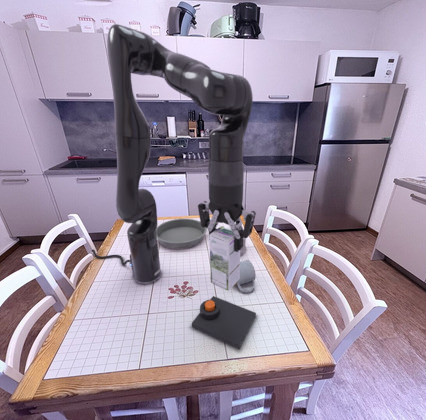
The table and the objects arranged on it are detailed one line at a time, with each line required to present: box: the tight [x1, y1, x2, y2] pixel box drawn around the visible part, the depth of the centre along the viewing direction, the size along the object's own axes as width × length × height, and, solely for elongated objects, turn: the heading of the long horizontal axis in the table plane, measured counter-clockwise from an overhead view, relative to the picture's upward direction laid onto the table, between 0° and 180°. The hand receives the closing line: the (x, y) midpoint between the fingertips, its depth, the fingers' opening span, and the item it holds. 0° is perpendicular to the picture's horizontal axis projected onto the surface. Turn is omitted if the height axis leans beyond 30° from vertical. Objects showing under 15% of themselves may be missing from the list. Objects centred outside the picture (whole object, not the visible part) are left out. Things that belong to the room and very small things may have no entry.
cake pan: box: [156, 218, 208, 250], centre depth 114 cm, size 25×25×4 cm
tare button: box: [205, 299, 215, 312], centre depth 70 cm, size 3×3×2 cm
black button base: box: [191, 295, 257, 350], centre depth 69 cm, size 16×12×4 cm
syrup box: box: [208, 225, 241, 292], centre depth 58 cm, size 6×6×14 cm
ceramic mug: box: [234, 259, 257, 294], centre depth 83 cm, size 11×8×8 cm
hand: (225, 246), depth 57 cm, fingers closed on syrup box, 6 cm apart
